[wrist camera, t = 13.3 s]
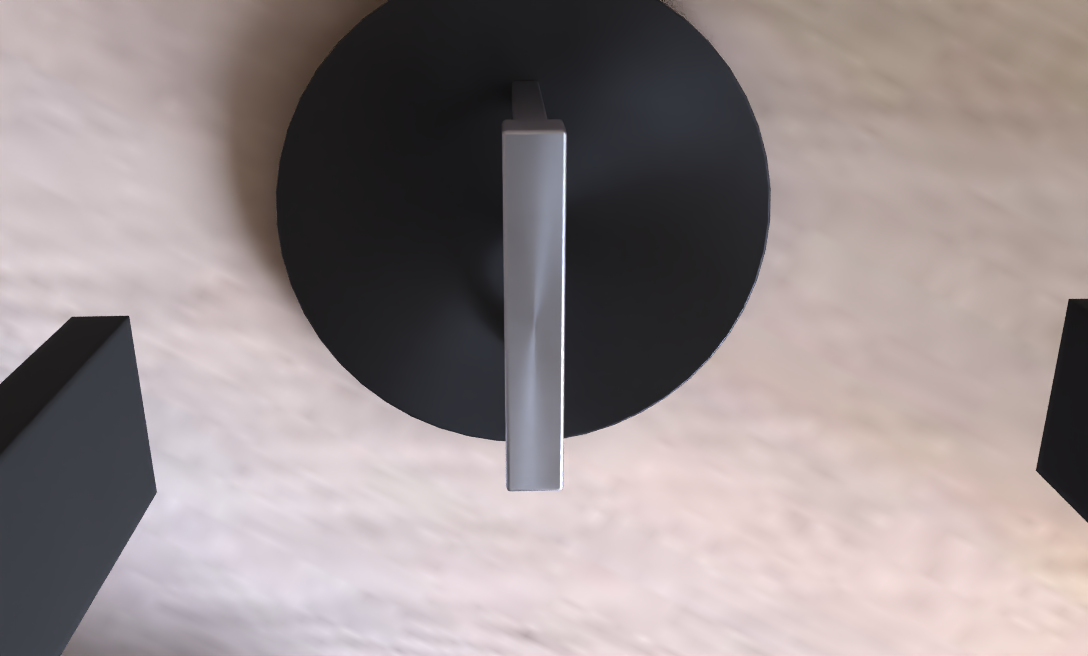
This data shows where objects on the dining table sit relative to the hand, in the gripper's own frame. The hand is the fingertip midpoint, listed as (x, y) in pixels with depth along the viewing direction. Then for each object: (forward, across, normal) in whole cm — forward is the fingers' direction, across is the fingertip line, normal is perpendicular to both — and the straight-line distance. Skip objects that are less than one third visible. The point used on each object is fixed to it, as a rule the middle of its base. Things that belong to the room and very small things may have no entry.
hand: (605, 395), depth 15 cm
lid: (+15, -1, -1) cm, 15 cm away
